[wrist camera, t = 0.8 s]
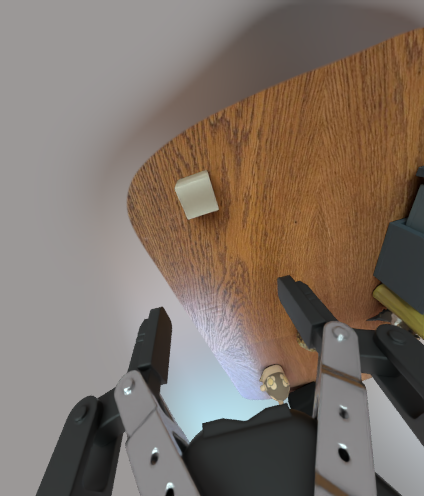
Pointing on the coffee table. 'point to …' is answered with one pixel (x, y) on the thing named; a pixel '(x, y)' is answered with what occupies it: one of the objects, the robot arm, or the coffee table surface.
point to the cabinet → (403, 263)
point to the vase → (400, 308)
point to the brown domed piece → (275, 383)
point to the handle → (303, 399)
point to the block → (196, 195)
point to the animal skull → (393, 321)
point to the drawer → (417, 207)
